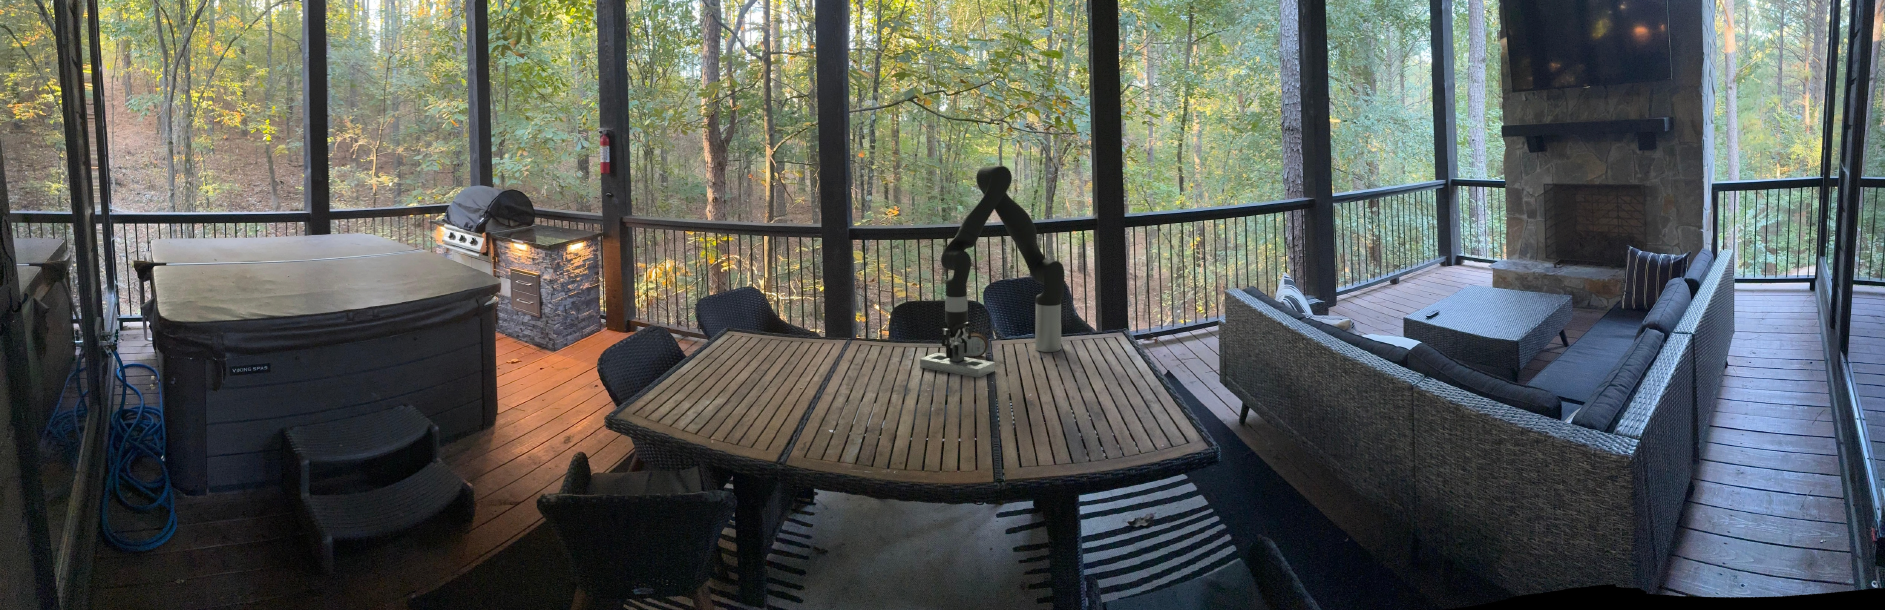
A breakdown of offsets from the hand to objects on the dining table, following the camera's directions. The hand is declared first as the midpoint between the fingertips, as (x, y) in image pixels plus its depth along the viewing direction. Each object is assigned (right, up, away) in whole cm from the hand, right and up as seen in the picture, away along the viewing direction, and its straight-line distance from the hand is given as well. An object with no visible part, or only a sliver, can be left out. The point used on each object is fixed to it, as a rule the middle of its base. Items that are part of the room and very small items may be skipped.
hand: (956, 355), depth 307 cm
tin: (+4, -2, +18) cm, 18 cm away
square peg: (0, -5, +1) cm, 5 cm away
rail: (0, -5, +1) cm, 5 cm away
